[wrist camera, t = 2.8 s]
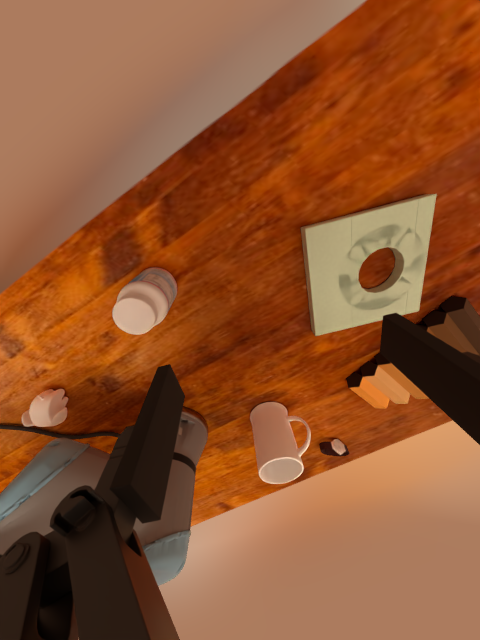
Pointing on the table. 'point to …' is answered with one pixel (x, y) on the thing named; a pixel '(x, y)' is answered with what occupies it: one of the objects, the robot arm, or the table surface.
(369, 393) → the pan flute
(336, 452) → the watch
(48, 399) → the elephant figurine
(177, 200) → the table surface
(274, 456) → the mug
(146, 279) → the pill bottle
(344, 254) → the mounting pad
